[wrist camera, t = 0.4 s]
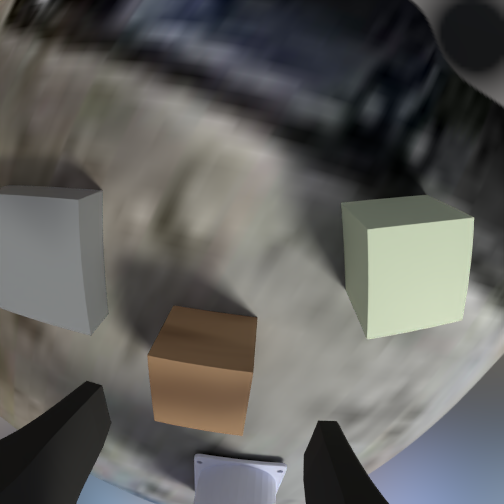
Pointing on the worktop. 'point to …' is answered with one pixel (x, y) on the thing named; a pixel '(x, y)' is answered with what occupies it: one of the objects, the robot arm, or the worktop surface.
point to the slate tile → (53, 255)
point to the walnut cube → (203, 370)
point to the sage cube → (406, 263)
